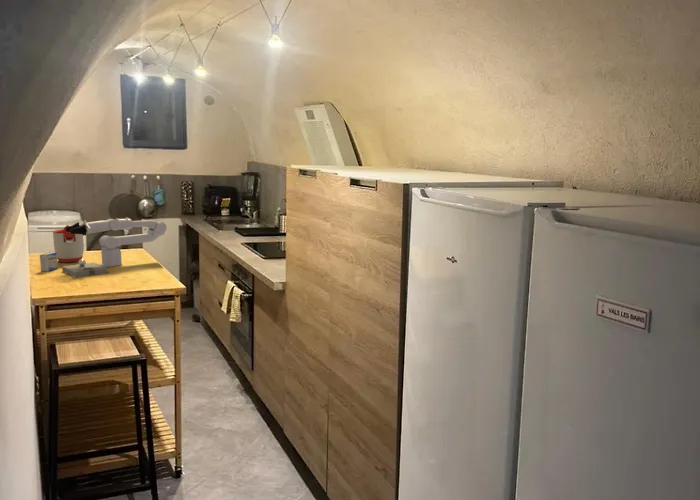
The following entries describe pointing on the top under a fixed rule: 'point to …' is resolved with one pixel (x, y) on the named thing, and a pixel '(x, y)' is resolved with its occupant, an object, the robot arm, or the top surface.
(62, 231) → the citrus juicer
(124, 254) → the top surface
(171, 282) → the top surface
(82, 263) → the ball
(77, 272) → the board
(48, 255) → the medicine box
